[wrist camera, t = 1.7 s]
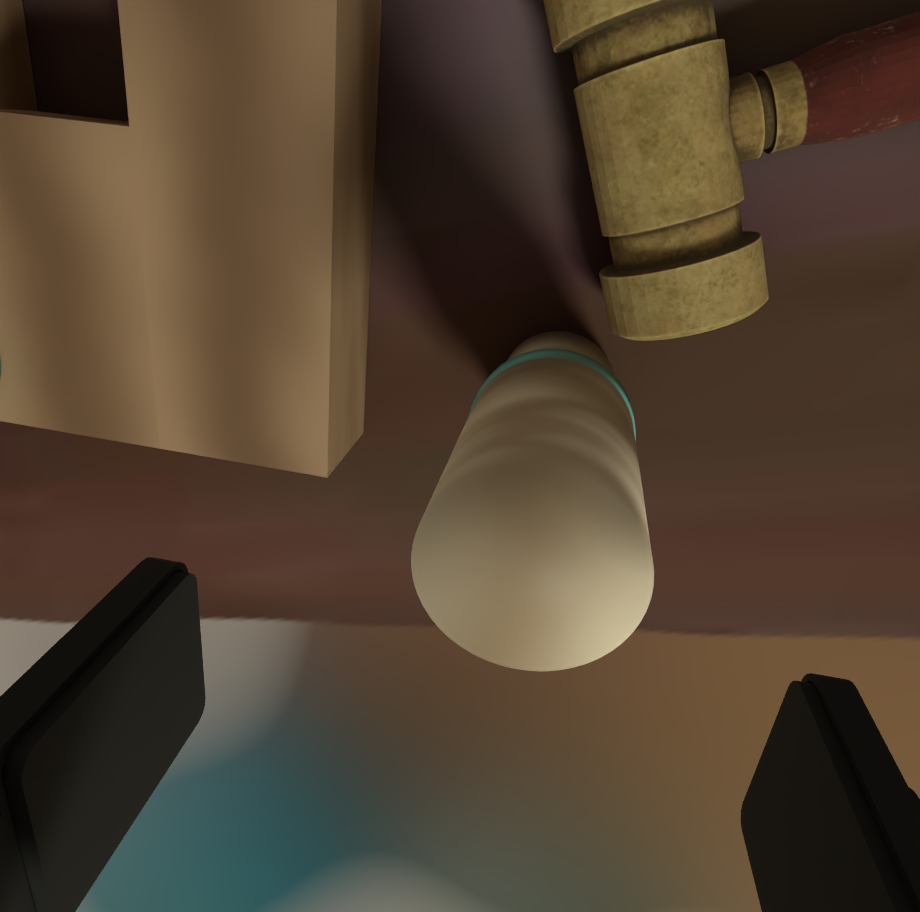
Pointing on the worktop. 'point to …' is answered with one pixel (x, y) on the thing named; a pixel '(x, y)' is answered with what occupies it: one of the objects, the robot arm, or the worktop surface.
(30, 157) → the board
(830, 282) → the worktop surface
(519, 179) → the worktop surface
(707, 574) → the worktop surface
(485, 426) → the peg
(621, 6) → the gavel
